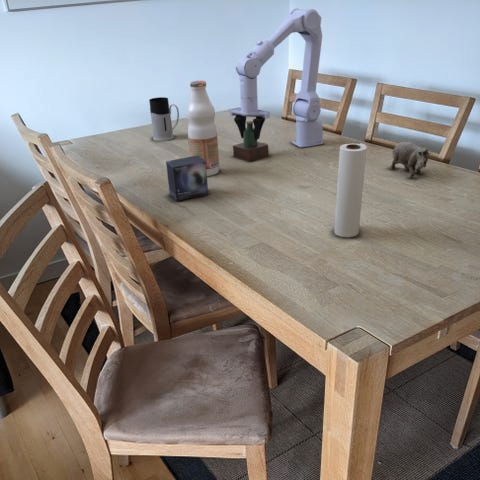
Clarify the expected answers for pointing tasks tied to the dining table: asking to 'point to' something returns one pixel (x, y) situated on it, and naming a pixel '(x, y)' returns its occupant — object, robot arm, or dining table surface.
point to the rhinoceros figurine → (410, 157)
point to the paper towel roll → (349, 189)
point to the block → (250, 151)
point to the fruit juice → (202, 127)
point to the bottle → (249, 135)
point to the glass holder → (162, 118)
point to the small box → (187, 177)
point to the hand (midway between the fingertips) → (250, 138)
